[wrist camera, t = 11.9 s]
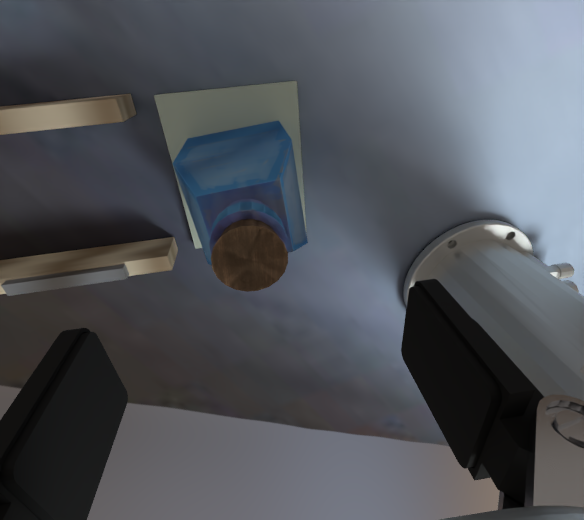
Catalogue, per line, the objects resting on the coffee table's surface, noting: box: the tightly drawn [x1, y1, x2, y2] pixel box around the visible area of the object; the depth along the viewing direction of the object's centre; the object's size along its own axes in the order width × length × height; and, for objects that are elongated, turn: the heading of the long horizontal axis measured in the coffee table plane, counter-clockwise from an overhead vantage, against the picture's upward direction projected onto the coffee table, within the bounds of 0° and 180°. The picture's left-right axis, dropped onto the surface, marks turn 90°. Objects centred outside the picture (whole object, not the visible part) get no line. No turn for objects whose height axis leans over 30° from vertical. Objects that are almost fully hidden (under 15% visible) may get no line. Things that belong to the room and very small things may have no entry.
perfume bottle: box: [172, 120, 308, 291], centre depth 19 cm, size 6×6×12 cm
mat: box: [154, 81, 306, 249], centre depth 24 cm, size 9×11×1 cm
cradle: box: [0, 94, 178, 296], centre depth 22 cm, size 14×11×4 cm
